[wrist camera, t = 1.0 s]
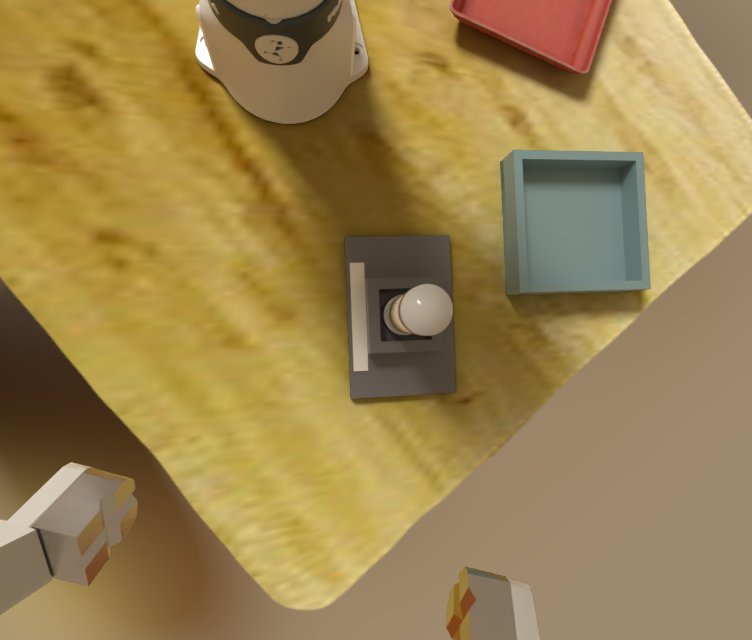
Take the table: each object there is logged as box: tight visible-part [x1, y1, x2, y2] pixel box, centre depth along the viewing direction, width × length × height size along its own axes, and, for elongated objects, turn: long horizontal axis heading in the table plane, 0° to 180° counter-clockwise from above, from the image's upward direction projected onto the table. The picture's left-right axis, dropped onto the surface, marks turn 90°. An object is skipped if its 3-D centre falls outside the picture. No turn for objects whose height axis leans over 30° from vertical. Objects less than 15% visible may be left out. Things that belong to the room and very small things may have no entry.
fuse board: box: [345, 235, 456, 399], centre depth 48 cm, size 18×12×4 cm, turn 2°
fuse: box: [382, 284, 453, 336], centre depth 42 cm, size 4×4×12 cm
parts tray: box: [500, 150, 651, 295], centre depth 51 cm, size 16×16×4 cm
